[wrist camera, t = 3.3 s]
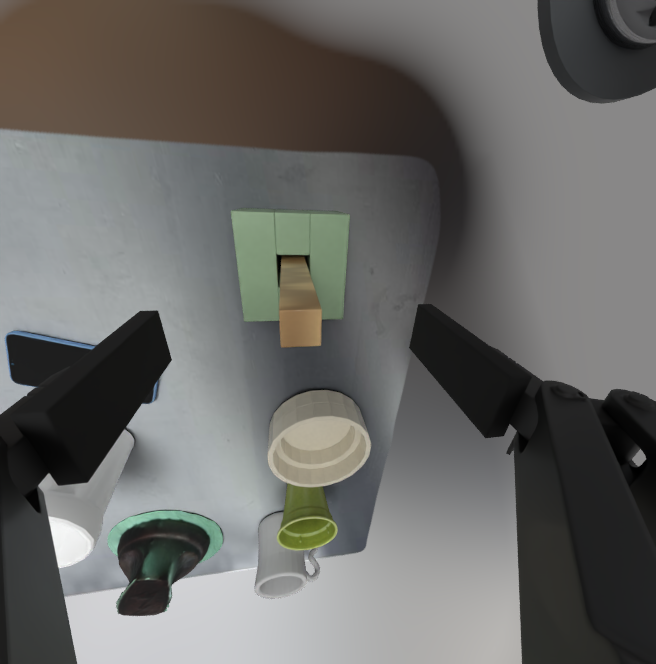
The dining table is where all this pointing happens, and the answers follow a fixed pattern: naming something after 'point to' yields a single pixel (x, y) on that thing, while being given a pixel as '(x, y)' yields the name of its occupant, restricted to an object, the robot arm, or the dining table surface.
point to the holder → (289, 239)
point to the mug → (280, 563)
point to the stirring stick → (298, 305)
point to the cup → (83, 505)
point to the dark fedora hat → (159, 556)
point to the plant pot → (306, 519)
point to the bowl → (317, 439)
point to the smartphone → (45, 358)
